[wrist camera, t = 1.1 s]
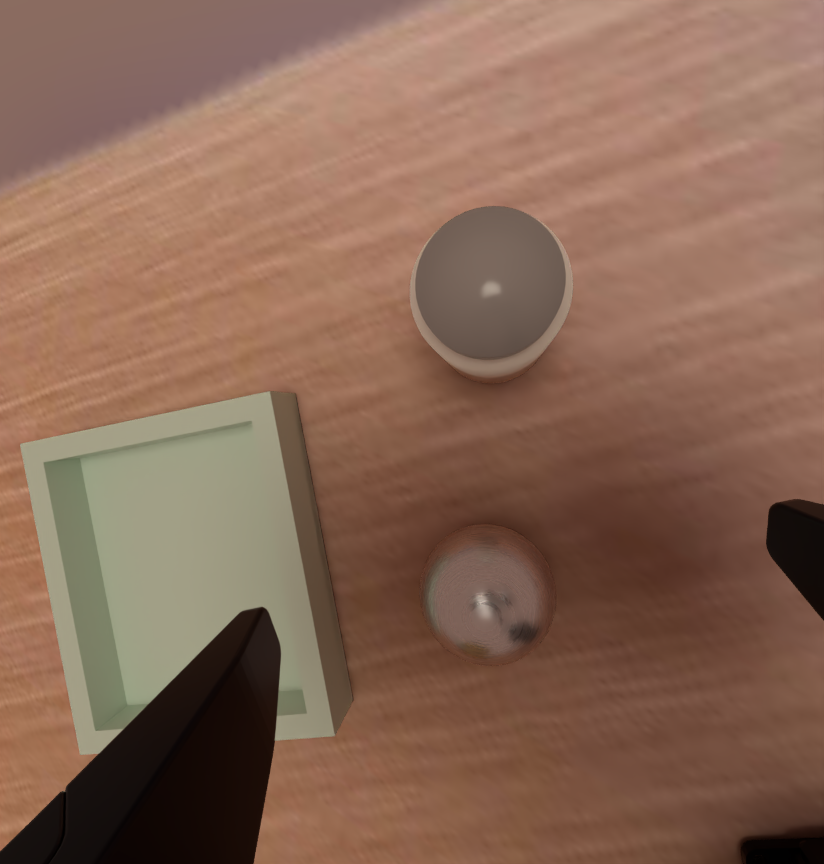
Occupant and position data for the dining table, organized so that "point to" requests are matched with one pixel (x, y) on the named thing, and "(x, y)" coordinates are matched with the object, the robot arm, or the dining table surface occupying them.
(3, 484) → the dining table surface
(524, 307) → the shaker
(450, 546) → the ball
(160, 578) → the tray
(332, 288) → the dining table surface
